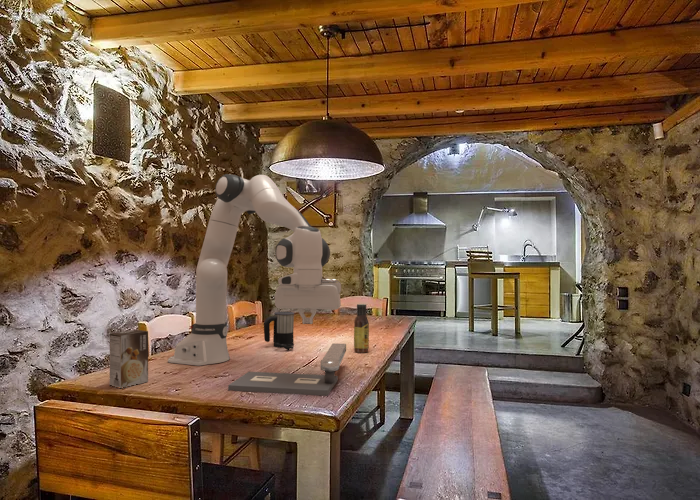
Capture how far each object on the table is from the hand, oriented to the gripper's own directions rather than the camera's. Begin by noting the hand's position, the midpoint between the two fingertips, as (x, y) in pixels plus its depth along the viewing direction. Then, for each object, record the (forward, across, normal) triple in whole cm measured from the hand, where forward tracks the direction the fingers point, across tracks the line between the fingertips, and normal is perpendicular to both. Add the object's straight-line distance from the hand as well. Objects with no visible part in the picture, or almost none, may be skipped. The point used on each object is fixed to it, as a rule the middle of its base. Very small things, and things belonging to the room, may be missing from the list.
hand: (307, 323), depth 135 cm
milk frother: (+19, +24, -55) cm, 63 cm away
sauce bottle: (+19, -10, -52) cm, 56 cm away
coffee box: (+19, +55, +7) cm, 59 cm away
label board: (+19, +7, 0) cm, 20 cm away
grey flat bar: (+14, -6, -12) cm, 19 cm away
